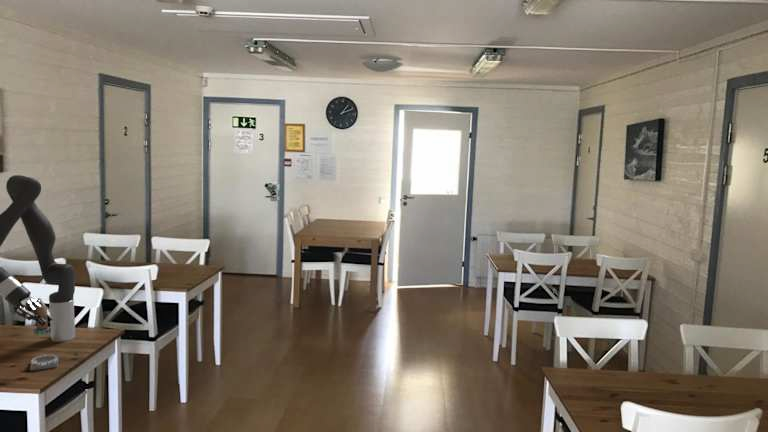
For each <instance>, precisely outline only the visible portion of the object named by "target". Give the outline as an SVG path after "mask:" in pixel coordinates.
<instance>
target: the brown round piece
mask: <svg viewBox="0 0 768 432" xmlns="http://www.w3.org/2000/svg"><path fill="white" fill-rule="evenodd" d="M36 312H37V313H38V314H39V316H41V317H42V318H43V319H44V320H45V321H46V322H47V323H46V324H45V325H44V326H41V325H40V324H39V323H37V322H36V328H35V329H33V334H34V335H35V336H39V335H41V336H43V335H48V334H49V333H51V327H50V326H48V324H49V323H48V321H47V314H48V307H47V306H46V305H45V306H39V307H36Z"/></svg>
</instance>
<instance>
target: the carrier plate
mask: <svg viewBox="0 0 768 432" xmlns="http://www.w3.org/2000/svg"><path fill="white" fill-rule="evenodd" d="M58 365H59V355H55V354H43V355H39V356H36V357H33V358H32V359H31V360H30V367H29V369H30V372H33V371H43V370H48V369H55V368H56V369H57V368H58Z"/></svg>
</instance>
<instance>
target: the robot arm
mask: <svg viewBox="0 0 768 432" xmlns="http://www.w3.org/2000/svg"><path fill="white" fill-rule="evenodd" d="M5 187H6V192H7V194H8V196H9V198H10V199H11V201H12V202H11V204H9V206H8V207H7V208H6V209H4V211H2V212H1V213H0V247H1V246H2V245H3V244H4V242H5V240H6V238H7V237H8V235H9V234H10V233H11V231H12V229H13V228H14V226H15V225H16V223H17V222H18V221H19V220H21V222H22V224H23V227H24V229H25V231H26V234H27V236H28V239H29V242H30V243H31V246H32V248H33V250H34V253H35V255H36V258H37V262H38V265H39V268H40V273H41V275H42V279H43V280H44V282H45V283H46V284H48V285H52V286H58V289H57V291H55V292H53V293H50V294H49V296H48V301H49V302H48V303H49V305H48V306H49V313H47V321H48V324H49V323H50V328H51V332H50V336H51V337H50V339H51V341H53V342H58V343H59V342H66V341H71V340H73V339H75V338H76V323H75V321H76V319H75V303H74V294H75V292H76V291H75V289H76V277H75V276H76V273H75V268H74V267H73V265H72V264H67V263H66V264H65V263H57V262H56V260H55V258H54V255H53V249H54V247H55V243H56V233H55V231H54V228H53V226H52V223H51V222H50V219H48V217H47V216H46V215H45V214H44V213H43V211H41V209H40V208H39V207H38V205H37V204H36V202H35V201H36V200H37V198H38V197H39V196H40V193H41V192H42V185H41V183H40V181H39V180H38V179H36V178H33V177H29V176H26V175H20V174H19V175H17V174H16V175H12V176H10V177H9V178H8V179H7V181H6V185H5ZM31 293H32V292H31V291H30V290H29V289H28V288H27V287H25V285H23V284H22V283H21V282H20V281H19V280H18V279H16V278H15V277H13V276H12V275H11V274H10V272H9V271H7V270H6V269H5V268H3V267H2V266H0V296H1V297H2V298H3V299H4V300H5V301H6V302H8V304H10V305H11V306H12V307H14V308H15V307H17V310H15V313H16V314H17V315H19V316H21V317H22V318H24V319H25V320H28V321H35V322H36V324H37V323H39V324H40V325H41V326H44V325H45V324H46V323H47V322H46V321H45V320H44V319H43V318H42V317H41V316H39V314H38V313H37V312H36V307H39V306H46V304H45V303H44V301H43V300H42V299H41V297H38V298H37V299H35V297H34V298H33V297H32V296H31Z"/></svg>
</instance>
